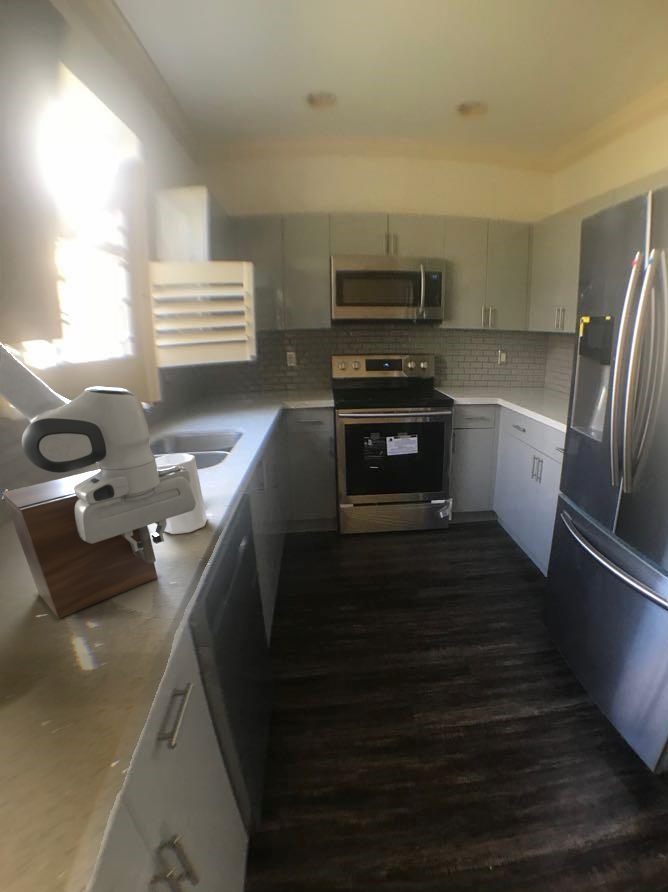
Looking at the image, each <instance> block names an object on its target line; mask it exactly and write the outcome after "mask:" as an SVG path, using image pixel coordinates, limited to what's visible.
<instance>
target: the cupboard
mask: <svg viewBox="0 0 668 892" xmlns="http://www.w3.org/2000/svg"><path fill="white" fill-rule="evenodd" d="M99 471H101V470H100V469H95V470H91V471H87V472H83V473H79V474H74V475H71V476H66V477H62V478H58V479H53V480H50V481H45V482H40V483H36V484H32V485H28V486H24V487H20V488H14V489H10V490H7V491H3V492H2V496H3V500H4V501H5V504H6V507H7V510H8V513H9V515H10V518H11V521H12V523H13V527H14V529H15V531H16V534H17V537H18V540H19V542H20V546H21V548H22V551H23V554H24V556H25V559H26V562H27V566H28V568H29V570H30V573H31V575H32V578H33V581H34V584H35V587H36V589H37V593H38V595H39V596H40V598H42V600H43V601H44V602H45V604H46V605H47V606H48V607H49V609H50V610H51V612H52V613H54V615H55V616H56V617H57V614H56V611H55V609H54V606H53V603H52V600H51V597H50V594H49V592H48V589H47V586H46V583H45V580H44V578H43V575H42V572H41V569H40V566H39V563H38V561H37V558H36V555H35V552H34V549H33V546H32V544H31V541H30V538H29V535H28V532H27V529H26V527H25V524H24V521H23V518H22V515H21V512H20V510H19V509H20V508H24V507H28V506H31V505H35V504H39V503H43V502H47V501H51V500H55V499H58V498H62V497H66V496H70V495H74V494H75V492H74V486H75V485H77V484H78V483H80V482H82V481H84V480H86V479H87V478H89V477H91V476H93V475H94V474H96V473H98V472H99Z"/></svg>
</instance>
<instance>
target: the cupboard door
mask: <svg viewBox="0 0 668 892" xmlns="http://www.w3.org/2000/svg"><path fill="white" fill-rule="evenodd" d="M78 500H79V498H78V497H77V496H76V494H74V495H70V496H66V497H62V498H58V499H55V500H51V501H47V502H43V503H39V504H35V505H31V506H28V507H24V508H20V509H19V510H20V512H21V515H22V518H23V521H24V524H25V527H26V529H27V532H28V535H29V538H30V541H31V544H32V546H33V549H34V552H35V555H36V558H37V561H38V563H39V566H40V569H41V572H42V575H43V578H44V580H45V583H46V586H47V589H48V592H49V594H50V597H51V600H52V603H53V606H54V609H55V611H56V614H57V616H56V617H57V618H58V619H62V618H64V617H66V616H69V615H72V614H74V613H76V612H78V611H81V610H83V609H86V608H89V607H91V606H93V605H95V604H98V603H100V602H102V601H105V600H107V599H110V598H112V597H114V596H117V595H119V594H122V593H124V592H126V591H128V590H129V591H130V590H131V589H134V588H136V587H139V586H140V585H144V584H145V583H148V582H151V581H153V580H155V579H157V578H158V573H157V569H156V565H155V562H156V554H155V550H154V548H153V541H152V539H151V538H152V537H151V533H150V531H149V525H147V526H144V527H141V528H138V529H135V530H132V531H133V536H130V537H131V538H132V539H134V540H135V539H139V540H141V541H142V546H143V549H141V550H139V551H136V552H135V551H133V550H132V548H131V544H130V542H129V541H128V540H127V539H126V538H124V537H123V536H122V535H121V534H120V535H117V536H114V537H111V538H108V539H105V540H102V541H99V542H96V543H93V544H90V543H88V542H86V541H84V540H83V539H82V538H81V537H80V536H79V533H78V529H77V525H76V519H75V504H76V502H77V501H78Z"/></svg>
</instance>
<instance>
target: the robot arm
mask: <svg viewBox="0 0 668 892" xmlns="http://www.w3.org/2000/svg"><path fill="white" fill-rule="evenodd" d="M0 397H1V398H3V400H5V401H6V402H7V403H9V404H10V405H11V406H12V407H13V408H15V409H16V410H17V411H19V412H20V413H21V414H22V415H23V416H24V417H25V418H26V419H27V420H28V421H29V424H28V425H27V426H26V428H25V430H24V431H23V433H22V436H21V447H22V451H23V453H24V455H25V456H26V458H27V459H28V460H29V461H30V462H31V463H32V464H33V465H34V466H36V467H37V468H39V469H40V470H43V471H47V472H49V473H50V472H51V473H58V474H59V473H61V474H62V473H68V472H73V471H75V470H79V469H83V468H86V467H89V466H92V465H94V464H98V466H99V470H101V471H99V472H98V473H96V474H94V475H93V476H91V477H89V478H87V479H86V480H84V481H82V482H80V483H78V484H77V485H75V486H74V492H75V494H76V496H77V497H78V498H79V500H78V501H77V502H76V504H75V519H76V525H77V529H78V533H79V536H80V537H81V538H82V539H83V540H84V541H86V542H88V543H90V544H93V543H96V542H99V541H102V540H105V539H108V538H111V537H114V536H117V535H120V534H121V535H122V536H123V537H124V538H126V539H127V540H128V541H129V542H130V544H131V548H132V550H133V551H135V552H136V551H139V550H141V549H143V546H142V541H141V540H139V539H135V540H134V539H132V538H131V537H130V536H133V531H132V530H135V529H138V528H141V527H144V526H150V525H153V524H155V525H156V528H155V531H154V532H153V533H150V536H151V538H152V543H154V544H155V545H158V544H160V543H163V542H165V538H164V532H165V531H164V530H165V527H166V525H167V523H166V519H168V518H171V517H174V516H177V515H180V514H183V513H186V512H189V511H192V510H194V508H195V506H196V501H195V497H194V494H193V491H192V489H191V486H190V484H189V483H190V476H189V472H188V471H187V470H186V469H185V468H183V467H180V466H175V467H172V468H169V469H163V470H159V471H158V470H157V466H156V461H155V458H156V457H155V454H154V453H153V451H152V449H151V446H150V437H151V435H150V431H149V425H148V422H147V418H146V415H145V412H144V409H143V407H142V406H143V405H142V403H141V402H140V400H139V398H138V397H137V396H136V394H134V393H133V392H131V391H130V390H129V389H125V388H121V387H115V386H91V387H87V388H86V389H84V391H82V392H81V393H80V394H79V395H78V396H76V397H75V398H73V399H72V400H71V399H68V398H66V397H64V396H62V395H60V394H59V393H57V392H56V391H55V390H53V389H52V388H51V387H50V386H49V385H48V384H47V383H45V382H44V381H43V380H42V379H41V378H40V377H39V376H38V375H36V374H35V373H34V372H33V371H32V370H31V369H29V368H28V367H27V366H26V365H25V364H24V363H23V362H22V361H20V360H19V359H18V358H17V357H16V355H13V353H11V351H9V350H8V349H7V348H6V347H5V346H4V345H3V343H1V342H0ZM181 469H182V470H181Z"/></svg>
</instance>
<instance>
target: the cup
mask: <svg viewBox="0 0 668 892" xmlns="http://www.w3.org/2000/svg"><path fill="white" fill-rule="evenodd" d="M155 461H156V466H157V470H158V471H159V470H163V469H169V468H172V467H175V466H180V467H183V468H185V469H186V470H187V471H188V472H189V476H190V483H189V484H190V486H191V489H192V491H193V494H194V497H195V501H196V506H195V508H194V510H192V511H189V512H186V513H183V514H180V515H177V516H174V517H171V518H168V519H166V523H167V525H166V527H165V530H164V532H165V533H168V534H171V535H180V534H188V533H189V534H190V533H192V532H195V531H197V530H198V529H201V528H204V527H205V525H206V524H207V523H206V522H207V521H208V519H207V513H206V508H205V503H204V498H203V493H202V487H201V482H200V477H199V471H198V466H197V461H196V457H195V455H193V454H189V453H175V454H166V455H162V456H159V457H155ZM181 470H182V469H181Z"/></svg>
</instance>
